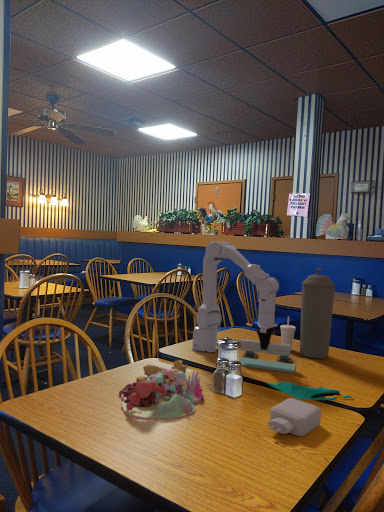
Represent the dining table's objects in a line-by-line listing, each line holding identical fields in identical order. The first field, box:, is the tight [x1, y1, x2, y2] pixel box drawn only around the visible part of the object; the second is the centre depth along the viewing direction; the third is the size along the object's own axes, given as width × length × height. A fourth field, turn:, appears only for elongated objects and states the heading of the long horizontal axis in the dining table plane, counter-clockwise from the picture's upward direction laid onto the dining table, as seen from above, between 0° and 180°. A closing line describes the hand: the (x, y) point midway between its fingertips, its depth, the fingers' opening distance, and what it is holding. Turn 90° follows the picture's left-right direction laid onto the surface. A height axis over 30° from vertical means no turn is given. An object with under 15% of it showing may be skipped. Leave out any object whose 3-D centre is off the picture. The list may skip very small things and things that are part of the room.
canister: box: [299, 268, 336, 360], centre depth 162 cm, size 13×13×35 cm
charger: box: [267, 397, 322, 438], centre depth 98 cm, size 5×9×15 cm
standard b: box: [276, 355, 293, 364], centre depth 155 cm, size 5×6×4 cm
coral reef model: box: [118, 359, 205, 421], centre depth 112 cm, size 25×24×9 cm
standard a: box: [242, 351, 259, 359], centre depth 159 cm, size 5×6×4 cm
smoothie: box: [279, 315, 297, 349], centre depth 170 cm, size 6×6×14 cm
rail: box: [239, 338, 292, 357], centre depth 147 cm, size 18×3×4 cm, turn 72°
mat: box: [239, 356, 296, 374], centre depth 147 cm, size 22×9×1 cm, turn 72°
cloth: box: [266, 381, 353, 401], centre depth 123 cm, size 26×14×2 cm, turn 56°
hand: (264, 348), depth 147 cm, fingers closed on rail, 3 cm apart
